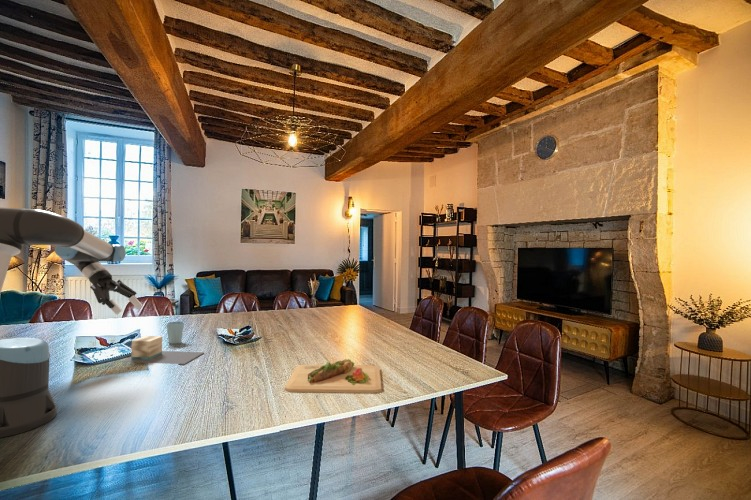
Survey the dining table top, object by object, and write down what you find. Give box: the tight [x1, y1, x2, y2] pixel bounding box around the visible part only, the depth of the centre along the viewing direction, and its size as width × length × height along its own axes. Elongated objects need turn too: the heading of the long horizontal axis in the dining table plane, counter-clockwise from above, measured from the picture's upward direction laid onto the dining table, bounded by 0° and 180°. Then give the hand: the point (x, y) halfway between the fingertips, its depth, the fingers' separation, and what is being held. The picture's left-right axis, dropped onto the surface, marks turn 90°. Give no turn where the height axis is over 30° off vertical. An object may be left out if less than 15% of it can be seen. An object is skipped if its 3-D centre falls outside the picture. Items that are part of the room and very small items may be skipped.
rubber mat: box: [120, 350, 205, 366], centre depth 143 cm, size 28×15×1 cm, turn 88°
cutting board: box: [283, 358, 382, 394], centre depth 125 cm, size 35×23×8 cm
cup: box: [166, 320, 185, 345], centre depth 165 cm, size 8×8×10 cm
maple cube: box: [130, 335, 163, 360], centre depth 143 cm, size 8×8×8 cm
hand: (130, 309), depth 144 cm, fingers open, 11 cm apart
